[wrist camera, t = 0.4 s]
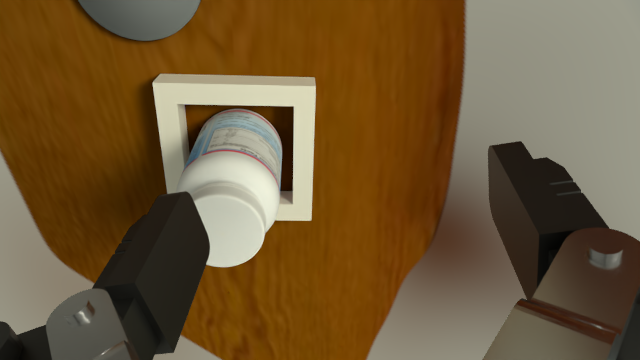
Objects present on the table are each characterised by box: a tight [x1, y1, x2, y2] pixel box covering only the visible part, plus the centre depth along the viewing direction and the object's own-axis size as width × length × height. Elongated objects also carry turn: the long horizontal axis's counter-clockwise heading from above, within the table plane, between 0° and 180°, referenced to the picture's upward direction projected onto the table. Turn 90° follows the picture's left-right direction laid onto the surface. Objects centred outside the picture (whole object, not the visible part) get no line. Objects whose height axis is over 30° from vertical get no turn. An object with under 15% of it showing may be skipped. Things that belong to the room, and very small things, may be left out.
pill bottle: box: [176, 109, 282, 267], centre depth 30 cm, size 6×6×11 cm
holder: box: [153, 74, 316, 221], centre depth 34 cm, size 10×10×2 cm
